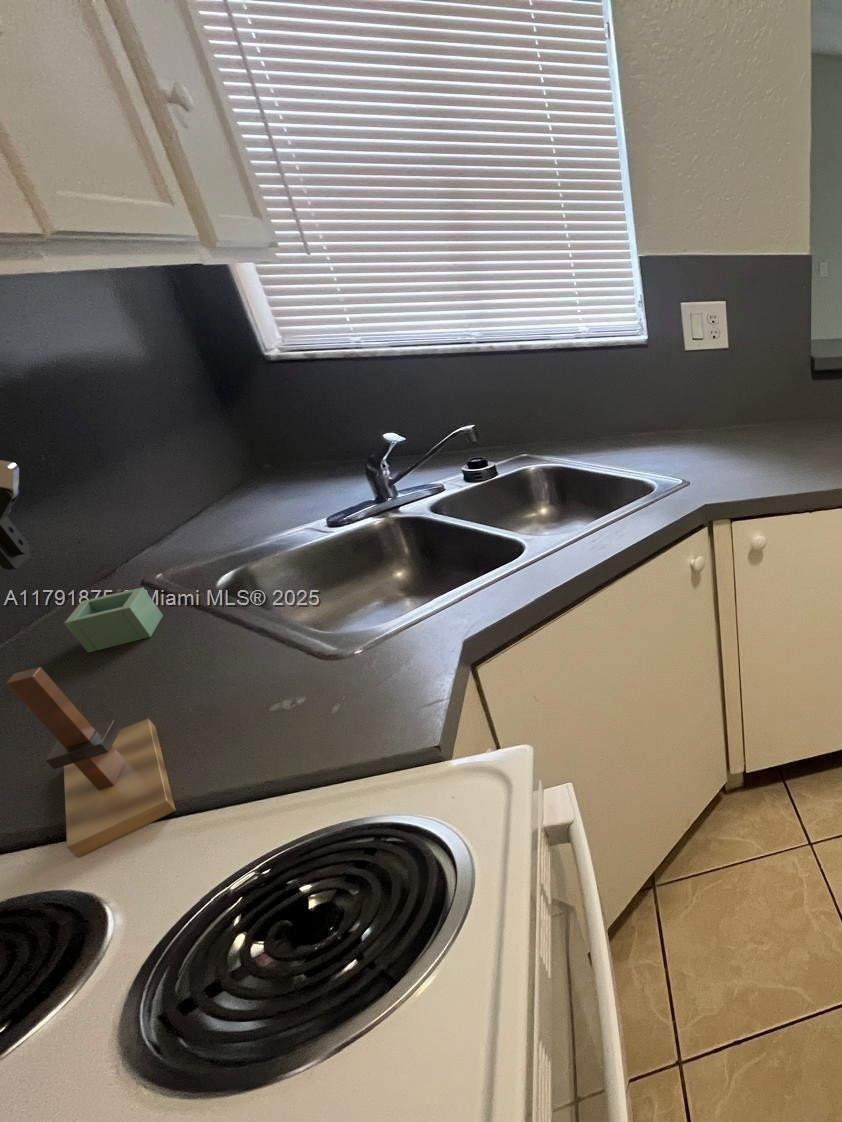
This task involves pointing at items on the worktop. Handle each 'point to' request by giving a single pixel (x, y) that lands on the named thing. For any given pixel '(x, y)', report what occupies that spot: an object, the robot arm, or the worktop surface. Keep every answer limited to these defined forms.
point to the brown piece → (70, 729)
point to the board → (118, 793)
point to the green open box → (114, 619)
